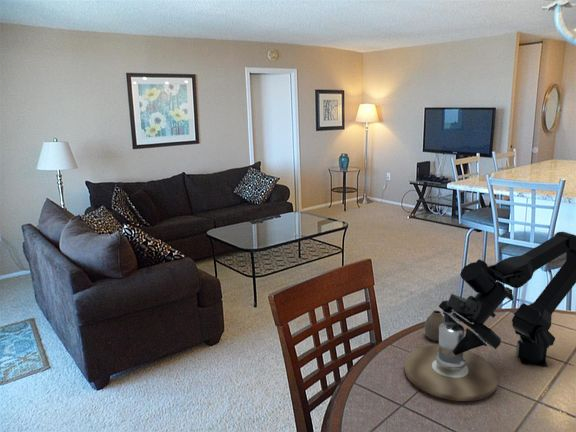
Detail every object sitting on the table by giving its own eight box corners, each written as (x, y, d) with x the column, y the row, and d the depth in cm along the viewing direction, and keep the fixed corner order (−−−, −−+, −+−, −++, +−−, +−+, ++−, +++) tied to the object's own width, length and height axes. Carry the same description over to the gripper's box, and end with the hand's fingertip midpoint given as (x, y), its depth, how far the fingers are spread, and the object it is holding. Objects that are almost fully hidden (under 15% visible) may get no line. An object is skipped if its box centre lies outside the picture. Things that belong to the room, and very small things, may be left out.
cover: (463, 356, 119) (464, 321, 116) (466, 371, 112) (468, 335, 110) (435, 353, 121) (436, 319, 118) (436, 368, 114) (437, 333, 112)
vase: (444, 332, 140) (446, 307, 138) (450, 344, 133) (451, 317, 131) (422, 332, 141) (423, 306, 139) (426, 343, 134) (427, 316, 132)
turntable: (489, 357, 125) (490, 349, 124) (505, 410, 103) (506, 400, 103) (405, 348, 131) (405, 341, 130) (403, 396, 110) (403, 387, 109)
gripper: (446, 272, 121) (408, 315, 121) (493, 298, 104) (450, 349, 103) (469, 294, 125) (433, 337, 125) (519, 324, 107) (477, 373, 107)
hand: (446, 347), depth 115 cm, fingers closed on cover, 6 cm apart
